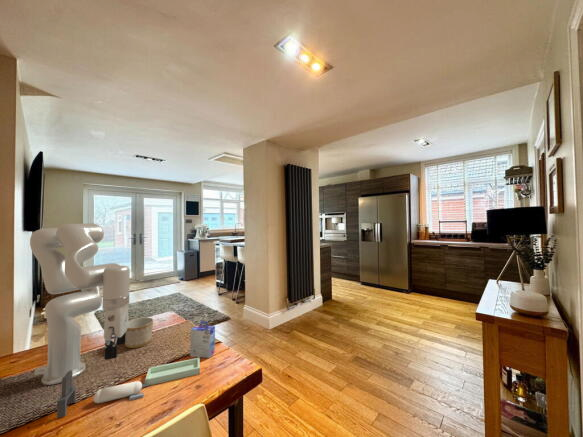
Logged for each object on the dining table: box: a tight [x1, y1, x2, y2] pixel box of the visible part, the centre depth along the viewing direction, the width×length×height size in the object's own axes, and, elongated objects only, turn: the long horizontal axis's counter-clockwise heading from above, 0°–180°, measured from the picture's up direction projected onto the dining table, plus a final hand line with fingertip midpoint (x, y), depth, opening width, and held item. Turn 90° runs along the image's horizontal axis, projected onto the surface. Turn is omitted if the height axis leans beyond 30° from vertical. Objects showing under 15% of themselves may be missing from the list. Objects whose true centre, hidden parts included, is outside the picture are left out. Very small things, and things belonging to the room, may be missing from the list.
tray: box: [144, 357, 201, 387], centre depth 93 cm, size 19×8×2 cm, turn 112°
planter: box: [124, 317, 154, 349], centre depth 117 cm, size 13×13×10 cm
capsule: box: [92, 380, 143, 404], centre depth 81 cm, size 14×4×4 cm, turn 112°
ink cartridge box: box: [189, 320, 216, 359], centre depth 107 cm, size 10×6×14 cm, turn 84°
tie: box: [56, 370, 77, 419], centre depth 76 cm, size 2×7×11 cm, turn 22°
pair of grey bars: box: [129, 382, 148, 401], centre depth 83 cm, size 4×7×1 cm, turn 22°
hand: (115, 350), depth 81 cm, fingers open, 9 cm apart
